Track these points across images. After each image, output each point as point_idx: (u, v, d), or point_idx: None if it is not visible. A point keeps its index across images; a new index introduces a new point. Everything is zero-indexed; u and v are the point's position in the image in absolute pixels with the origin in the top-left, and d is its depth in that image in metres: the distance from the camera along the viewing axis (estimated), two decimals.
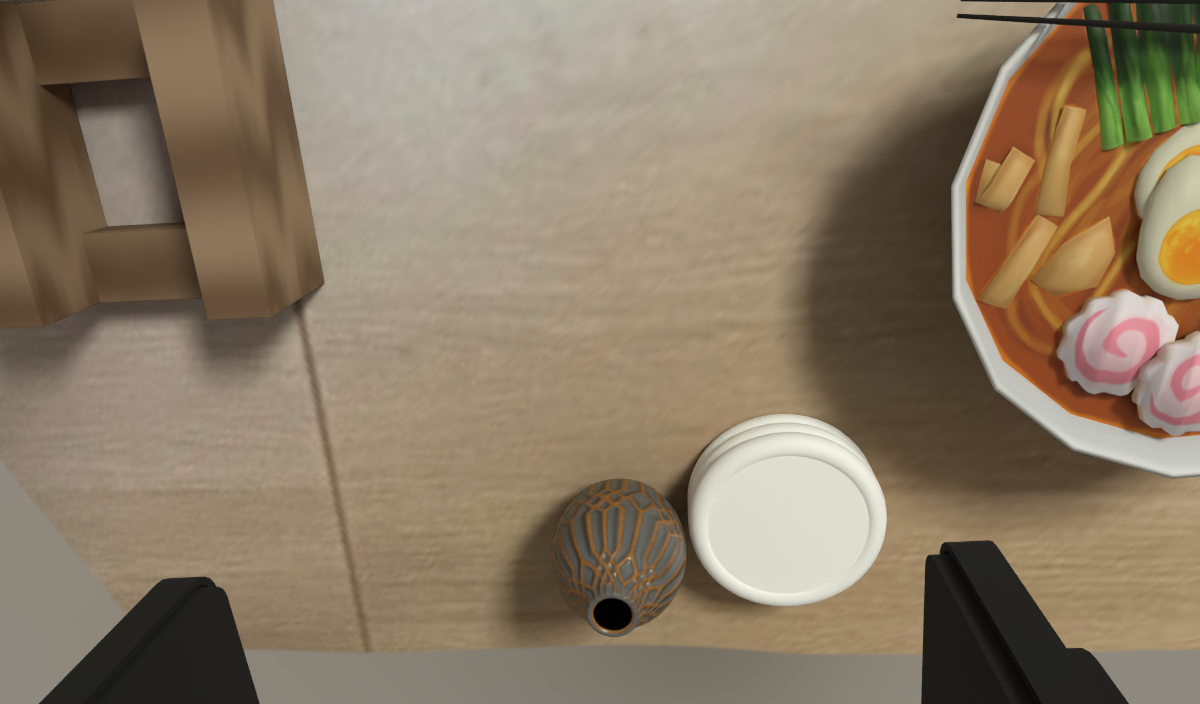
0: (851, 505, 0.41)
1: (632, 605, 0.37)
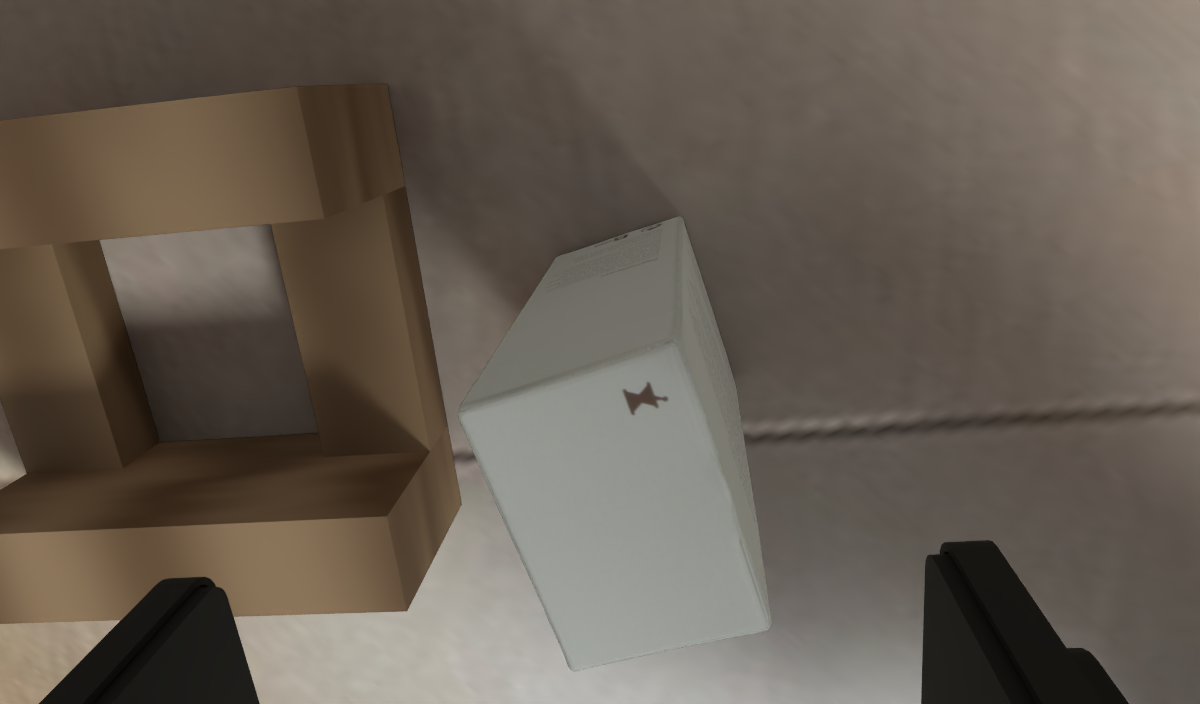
0: None
1: None
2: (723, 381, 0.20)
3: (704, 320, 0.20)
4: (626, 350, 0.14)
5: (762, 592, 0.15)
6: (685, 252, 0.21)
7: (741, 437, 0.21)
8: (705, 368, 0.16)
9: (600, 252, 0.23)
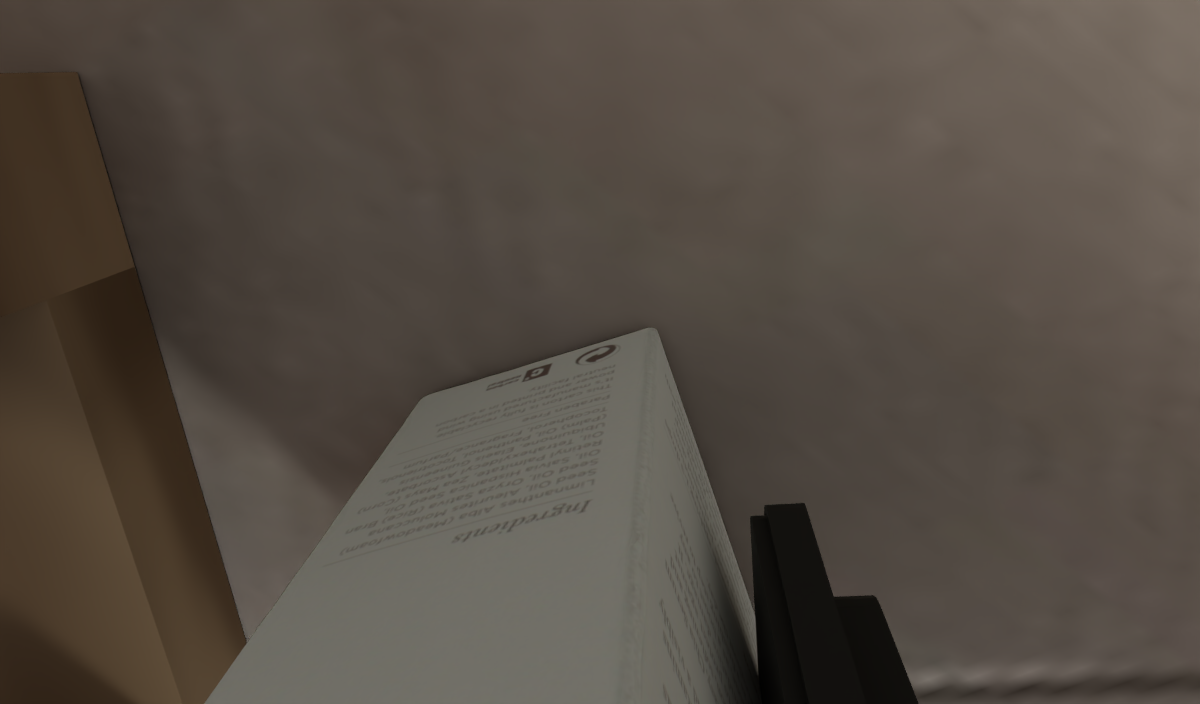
0: None
1: None
2: None
3: (703, 620, 0.09)
4: None
5: None
6: (659, 454, 0.09)
7: None
8: None
9: (488, 417, 0.11)
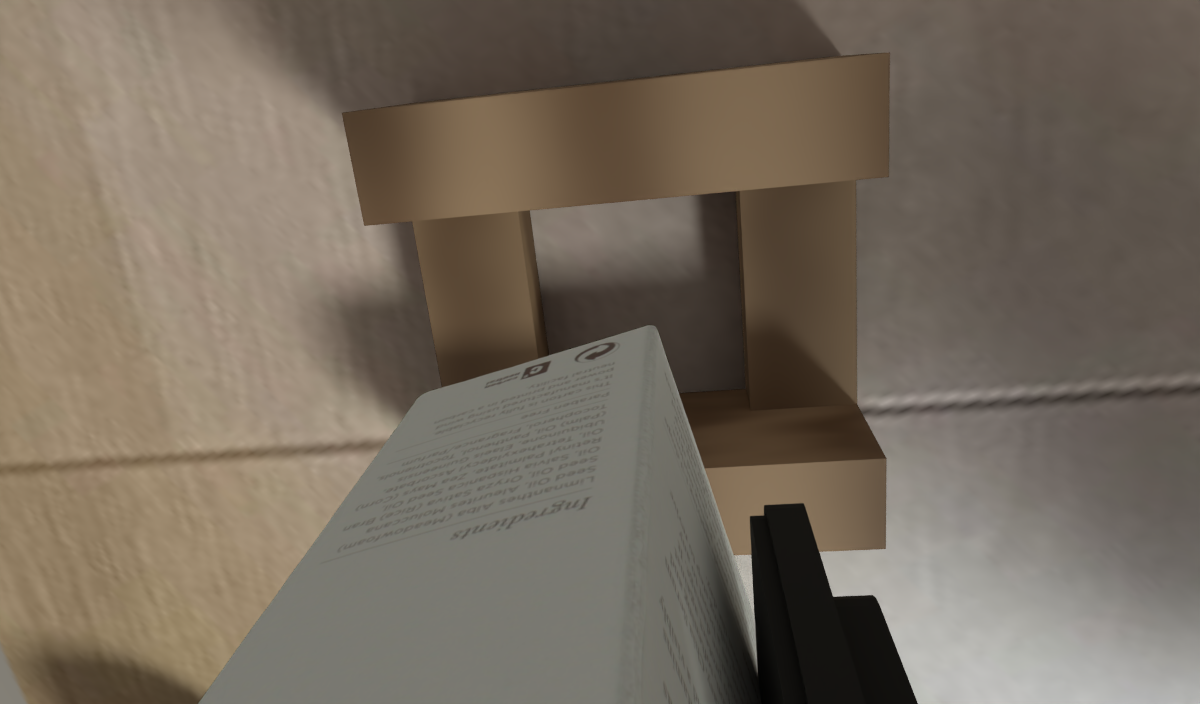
0: None
1: None
2: None
3: (703, 619, 0.09)
4: None
5: None
6: (659, 451, 0.09)
7: None
8: None
9: (487, 414, 0.11)
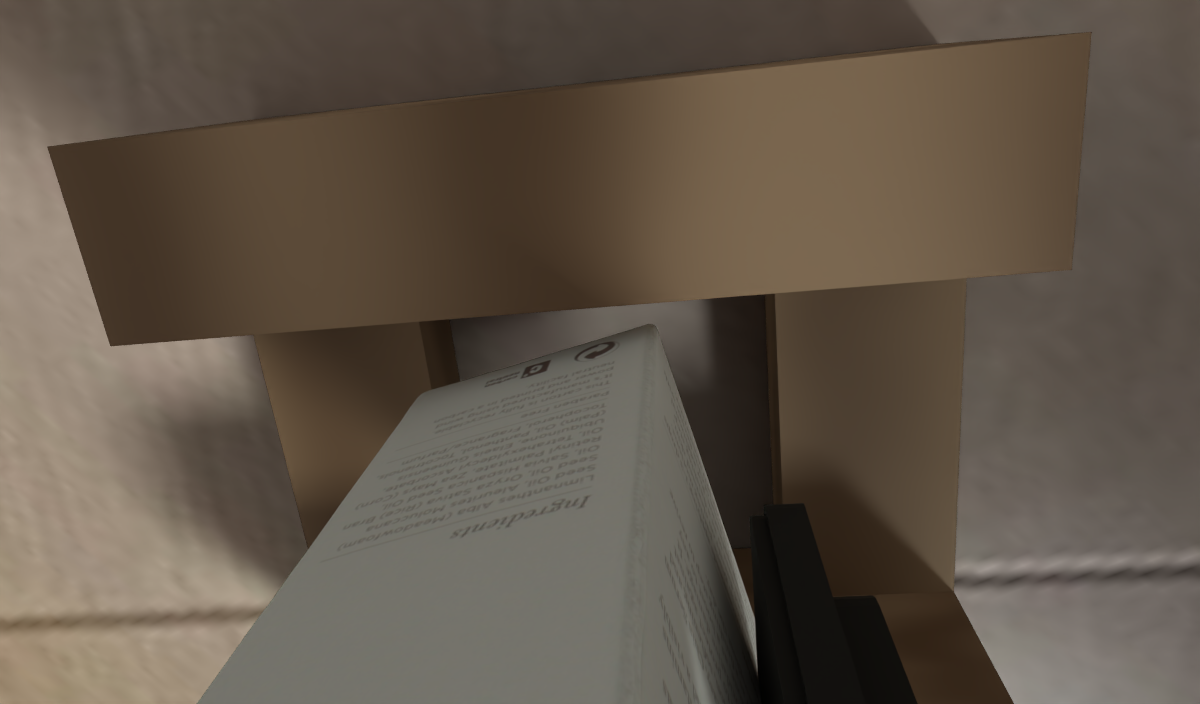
0: None
1: None
2: None
3: (703, 617, 0.09)
4: None
5: None
6: (659, 450, 0.09)
7: None
8: None
9: (487, 413, 0.11)
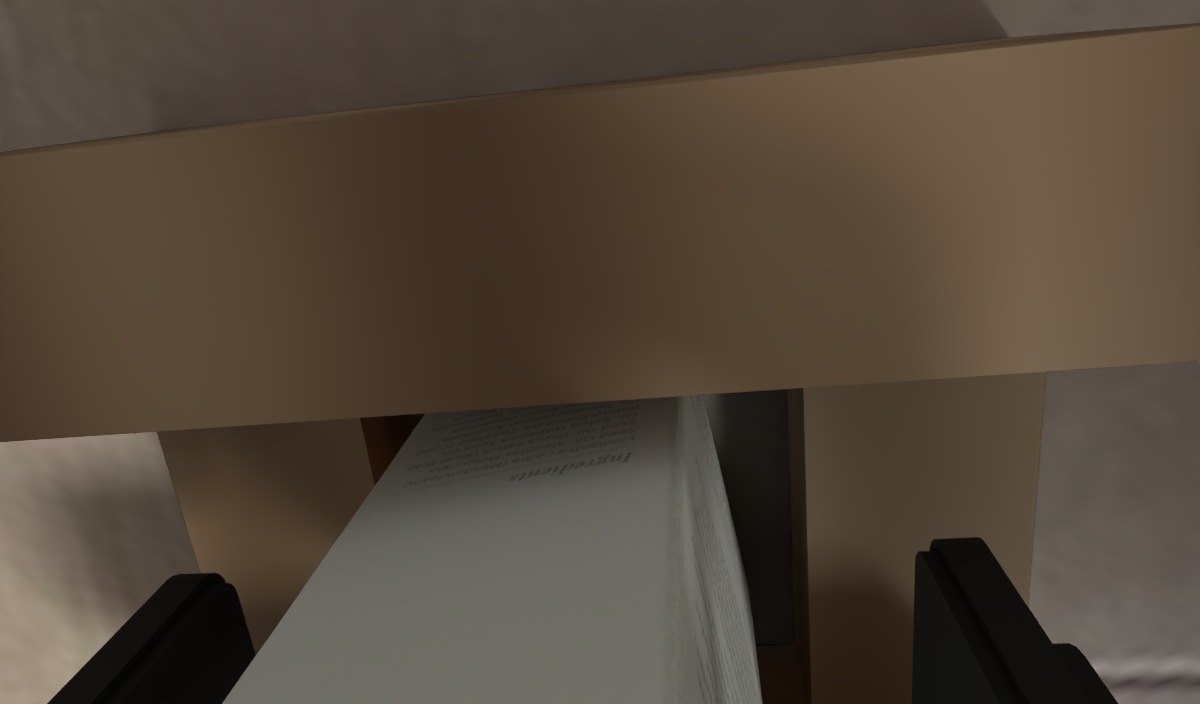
0: None
1: None
2: (745, 691, 0.10)
3: (716, 567, 0.10)
4: None
5: None
6: (688, 421, 0.10)
7: None
8: None
9: None
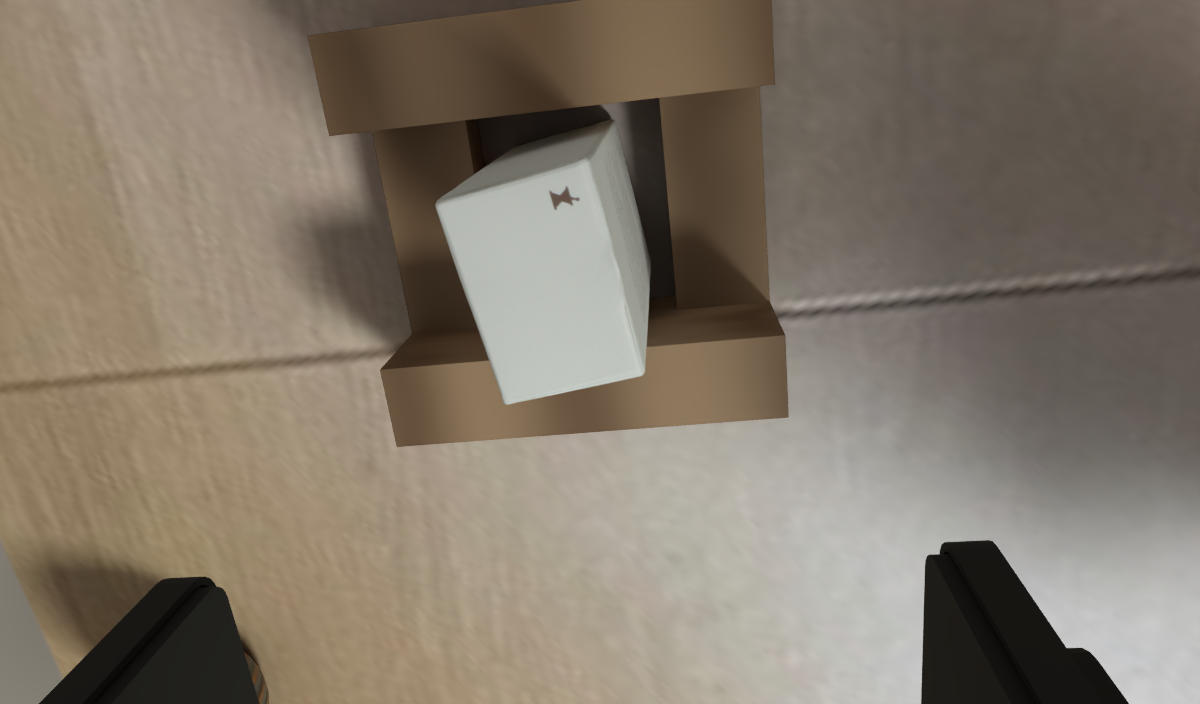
0: None
1: None
2: (633, 235, 0.27)
3: (622, 188, 0.27)
4: (553, 165, 0.20)
5: (639, 347, 0.22)
6: (611, 137, 0.27)
7: (645, 281, 0.28)
8: (613, 201, 0.23)
9: (547, 139, 0.29)
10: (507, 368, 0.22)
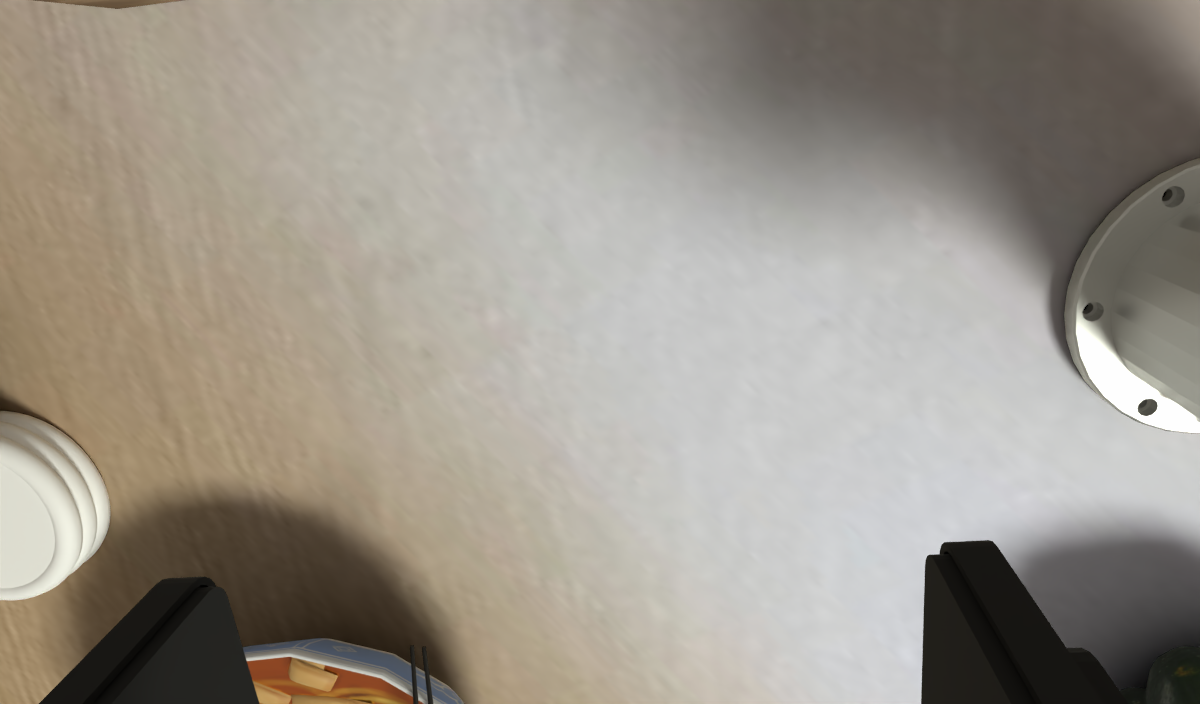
0: (20, 572, 0.43)
1: None
2: None
3: None
4: None
5: None
6: None
7: None
8: None
9: None
10: None
